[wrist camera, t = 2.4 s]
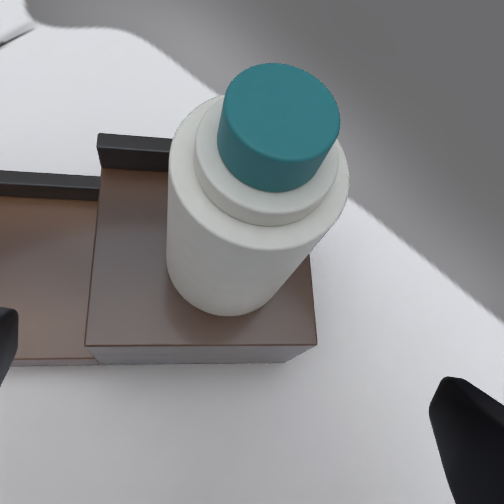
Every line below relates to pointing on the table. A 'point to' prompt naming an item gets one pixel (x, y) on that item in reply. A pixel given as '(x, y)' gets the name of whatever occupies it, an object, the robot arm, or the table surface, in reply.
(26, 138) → the table surface
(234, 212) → the bottle
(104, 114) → the table surface
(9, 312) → the robot arm
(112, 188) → the tray
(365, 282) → the table surface
